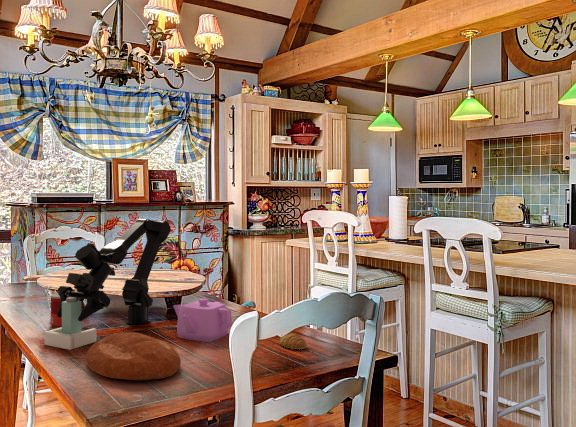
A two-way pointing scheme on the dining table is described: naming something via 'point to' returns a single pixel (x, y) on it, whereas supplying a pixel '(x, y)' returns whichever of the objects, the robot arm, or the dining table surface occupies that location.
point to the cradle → (69, 338)
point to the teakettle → (203, 320)
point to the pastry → (292, 341)
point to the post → (71, 316)
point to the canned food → (55, 311)
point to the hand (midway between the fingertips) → (68, 318)
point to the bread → (133, 357)
